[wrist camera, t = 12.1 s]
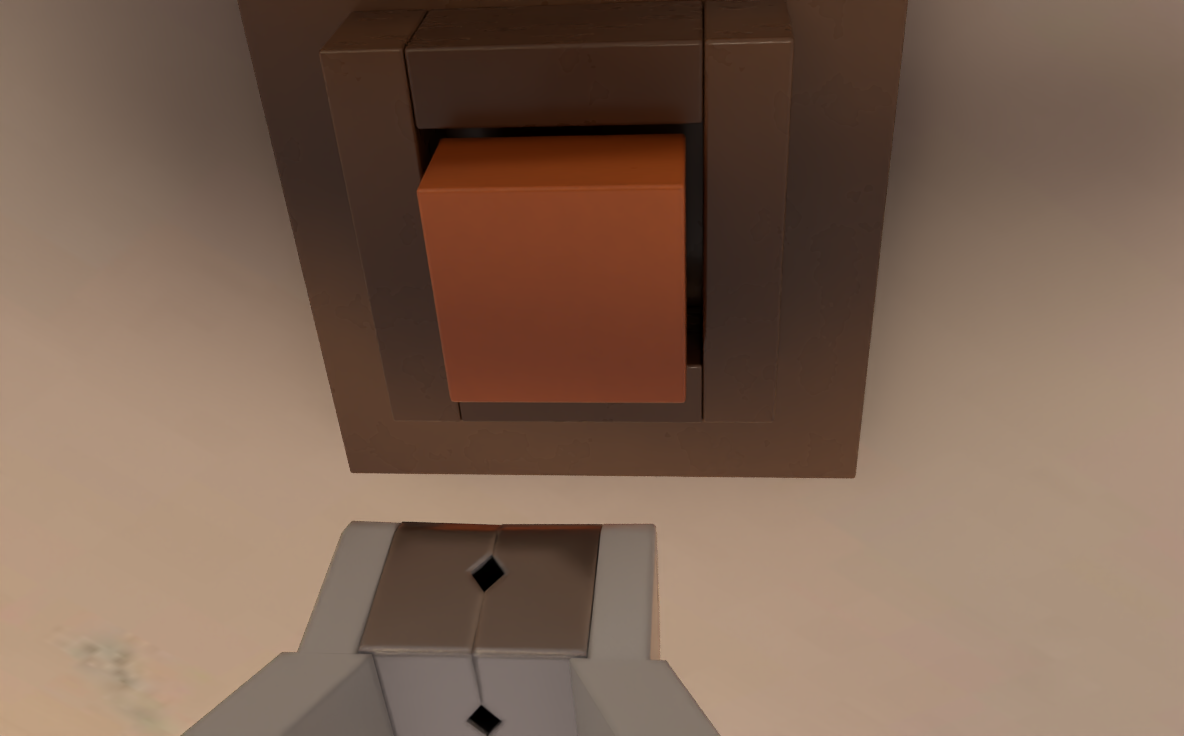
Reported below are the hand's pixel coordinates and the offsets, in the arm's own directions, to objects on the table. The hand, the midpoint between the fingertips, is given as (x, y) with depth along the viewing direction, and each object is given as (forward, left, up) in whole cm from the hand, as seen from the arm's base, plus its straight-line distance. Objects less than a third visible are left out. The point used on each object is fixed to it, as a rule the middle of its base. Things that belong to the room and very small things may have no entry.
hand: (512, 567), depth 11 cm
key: (0, 0, -7) cm, 7 cm away
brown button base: (0, 0, -10) cm, 10 cm away
